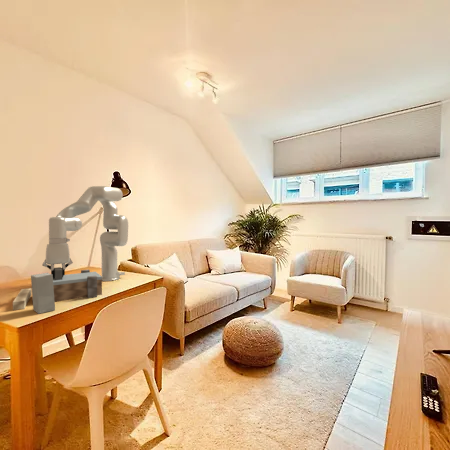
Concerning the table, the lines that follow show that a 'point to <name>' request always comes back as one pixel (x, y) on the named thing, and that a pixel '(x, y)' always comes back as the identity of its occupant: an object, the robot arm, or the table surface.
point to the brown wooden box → (78, 289)
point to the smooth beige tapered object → (22, 299)
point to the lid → (72, 277)
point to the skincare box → (43, 292)
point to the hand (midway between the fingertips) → (58, 277)
